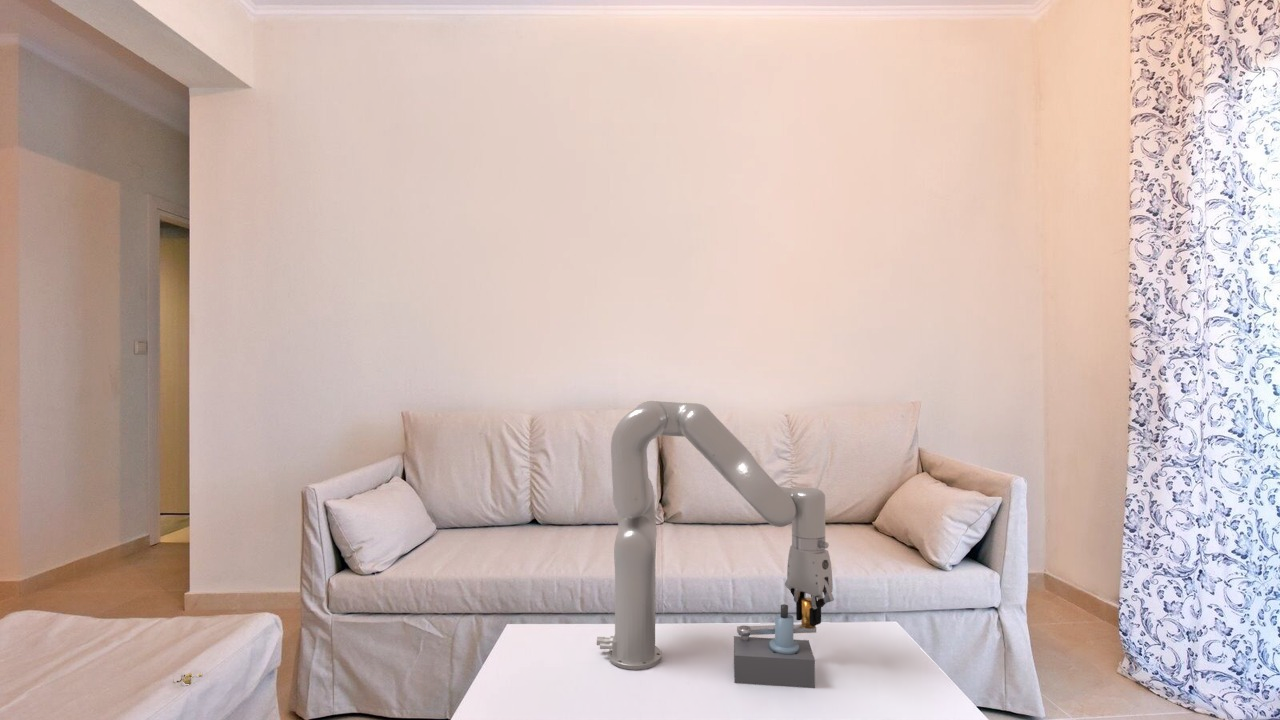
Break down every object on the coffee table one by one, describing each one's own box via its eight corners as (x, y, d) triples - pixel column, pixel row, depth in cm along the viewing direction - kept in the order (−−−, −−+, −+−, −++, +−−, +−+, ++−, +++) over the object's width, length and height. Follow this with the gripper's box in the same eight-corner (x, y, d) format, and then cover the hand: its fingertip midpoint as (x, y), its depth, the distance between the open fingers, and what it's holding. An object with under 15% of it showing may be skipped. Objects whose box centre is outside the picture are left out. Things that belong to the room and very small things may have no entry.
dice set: (186, 689, 141) (186, 680, 141) (166, 686, 142) (166, 677, 142) (206, 678, 146) (206, 669, 146) (187, 675, 147) (187, 666, 147)
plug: (770, 672, 144) (770, 610, 144) (768, 658, 150) (768, 599, 150) (800, 674, 143) (800, 612, 143) (797, 660, 150) (797, 601, 150)
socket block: (734, 683, 143) (734, 649, 143) (733, 661, 153) (733, 630, 153) (814, 688, 141) (814, 654, 141) (808, 666, 151) (808, 635, 151)
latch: (739, 636, 150) (739, 604, 150) (736, 630, 153) (736, 599, 153) (817, 633, 151) (817, 602, 151) (812, 628, 155) (812, 597, 155)
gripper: (848, 548, 148) (848, 629, 148) (791, 532, 162) (792, 607, 162) (827, 554, 144) (827, 638, 144) (770, 537, 157) (770, 614, 157)
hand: (808, 620), depth 153 cm, fingers closed on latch, 3 cm apart
